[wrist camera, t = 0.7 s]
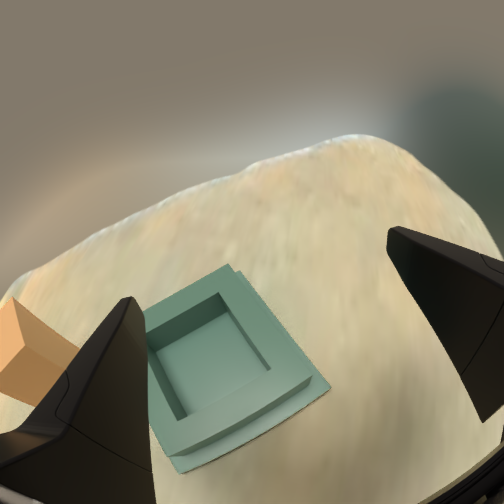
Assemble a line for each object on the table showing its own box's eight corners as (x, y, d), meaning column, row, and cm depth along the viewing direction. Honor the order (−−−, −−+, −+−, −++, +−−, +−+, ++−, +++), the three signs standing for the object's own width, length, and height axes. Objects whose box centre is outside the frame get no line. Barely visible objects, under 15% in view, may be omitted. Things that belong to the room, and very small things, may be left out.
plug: (117, 394, 21) (25, 345, 12) (85, 423, 19) (-12, 386, 10) (94, 357, 24) (12, 296, 15) (64, 385, 22) (-22, 335, 13)
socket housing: (329, 389, 20) (338, 377, 17) (182, 473, 17) (160, 477, 13) (240, 274, 28) (233, 247, 25) (120, 342, 25) (97, 323, 21)
